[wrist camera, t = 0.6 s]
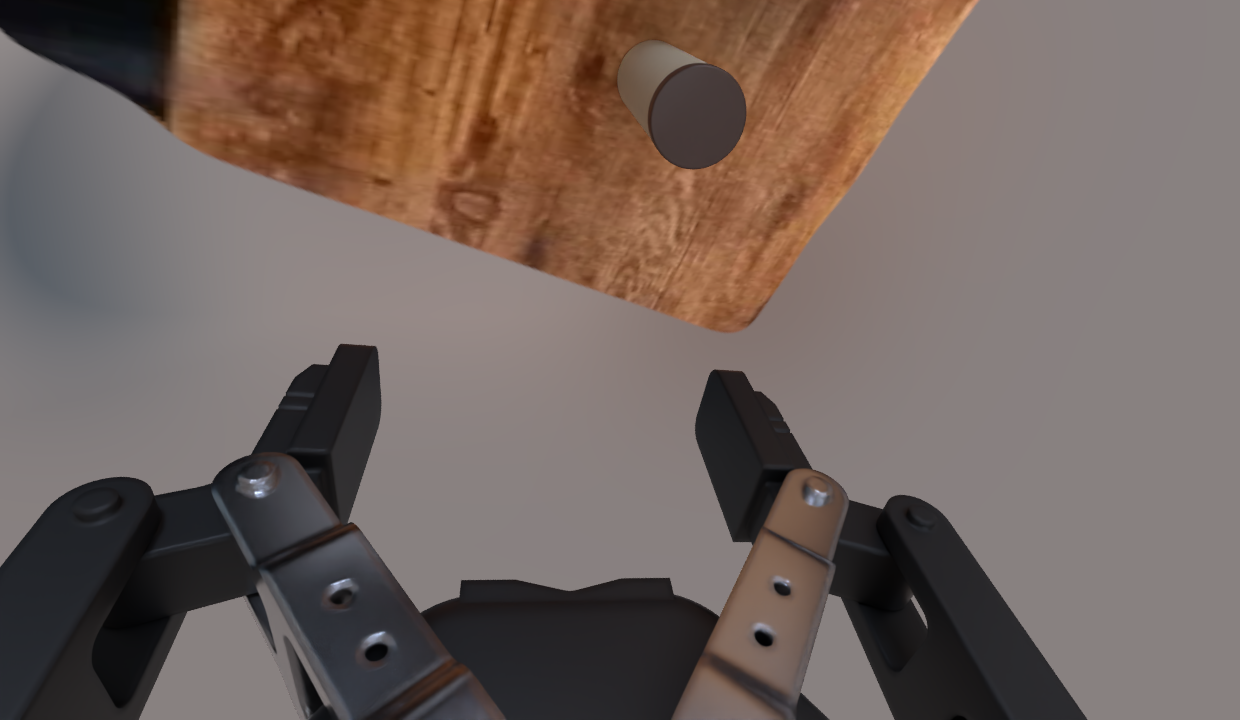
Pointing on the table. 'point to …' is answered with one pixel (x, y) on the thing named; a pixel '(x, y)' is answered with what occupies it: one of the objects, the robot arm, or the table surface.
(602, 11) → the table surface
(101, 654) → the robot arm
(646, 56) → the tube
